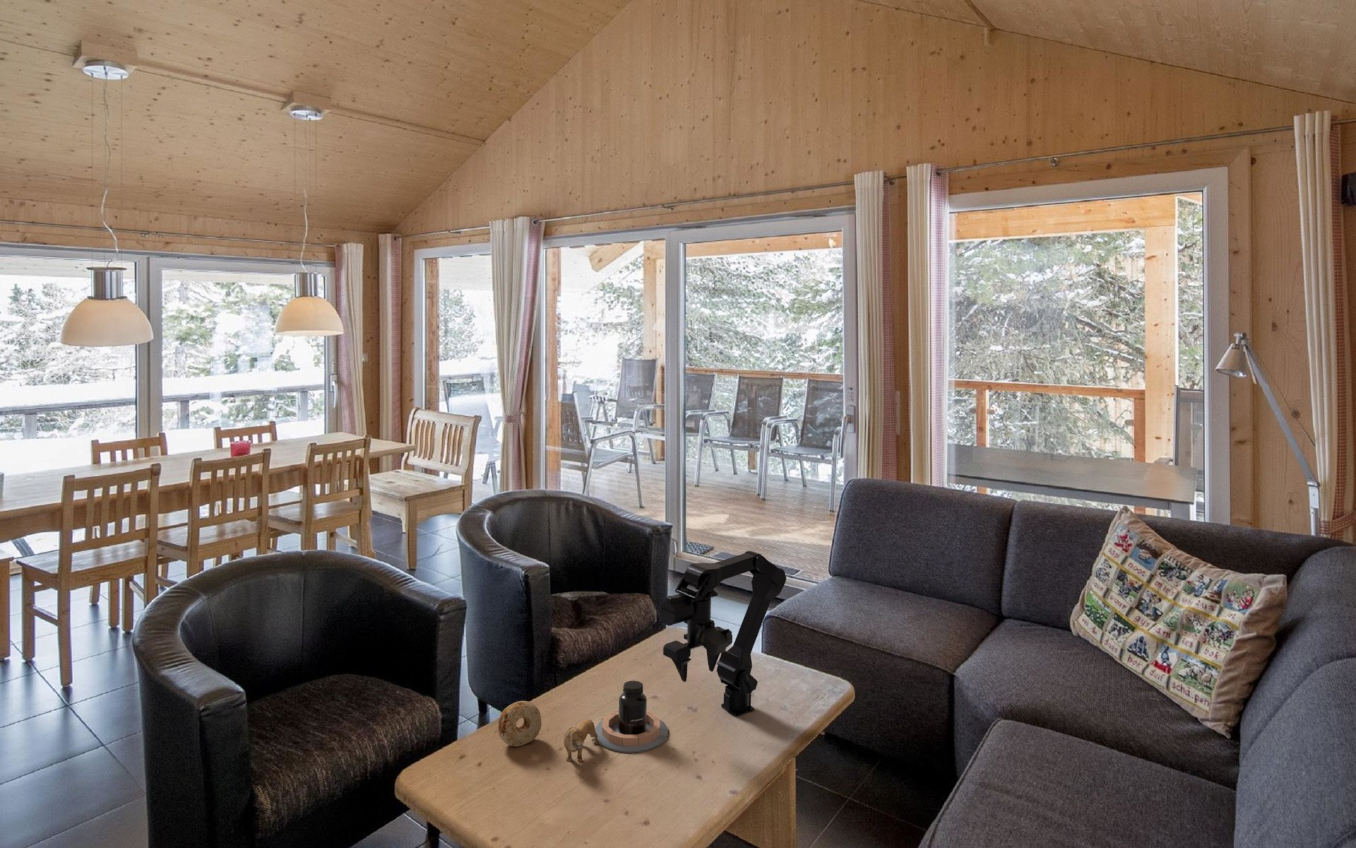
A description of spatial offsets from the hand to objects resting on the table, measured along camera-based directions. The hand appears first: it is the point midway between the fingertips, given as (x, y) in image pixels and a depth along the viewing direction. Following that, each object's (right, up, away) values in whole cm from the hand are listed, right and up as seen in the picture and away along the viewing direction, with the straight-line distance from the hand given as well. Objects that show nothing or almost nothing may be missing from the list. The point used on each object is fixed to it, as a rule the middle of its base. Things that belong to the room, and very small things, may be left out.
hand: (697, 676), depth 199 cm
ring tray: (-16, -13, -2) cm, 21 cm away
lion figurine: (-27, -15, -12) cm, 33 cm away
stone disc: (-42, -14, -8) cm, 45 cm away
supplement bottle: (-16, -13, -3) cm, 21 cm away
